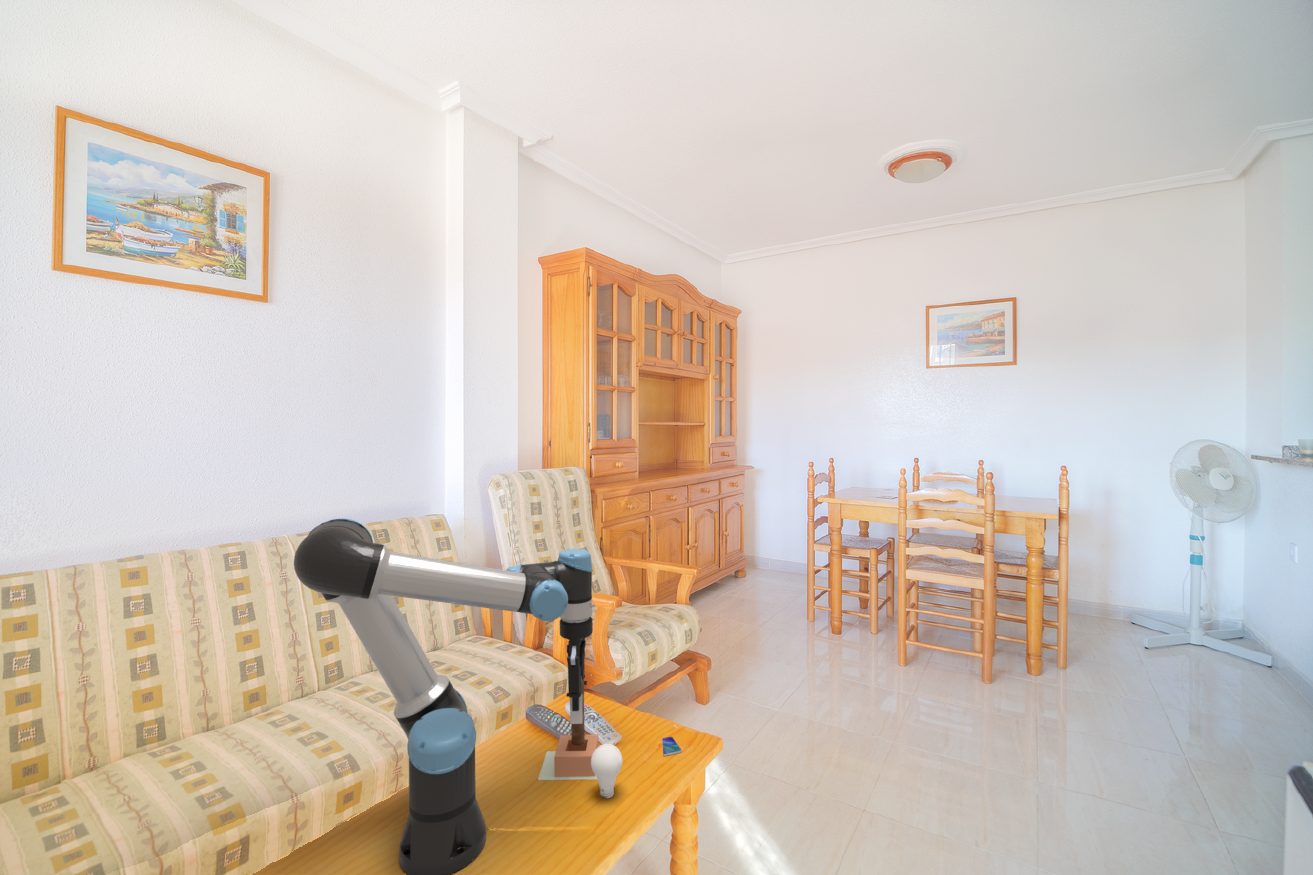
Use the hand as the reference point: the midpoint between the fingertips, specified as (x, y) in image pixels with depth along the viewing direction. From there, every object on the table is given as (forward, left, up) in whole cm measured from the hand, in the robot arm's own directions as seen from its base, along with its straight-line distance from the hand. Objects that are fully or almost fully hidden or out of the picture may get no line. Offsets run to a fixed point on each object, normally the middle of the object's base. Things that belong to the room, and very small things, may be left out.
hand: (577, 718), depth 129 cm
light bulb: (+7, -11, -12) cm, 17 cm away
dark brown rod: (0, 0, -5) cm, 5 cm away
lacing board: (0, 0, -11) cm, 11 cm away
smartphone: (+16, +7, -12) cm, 21 cm away
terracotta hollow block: (0, 0, -11) cm, 11 cm away
